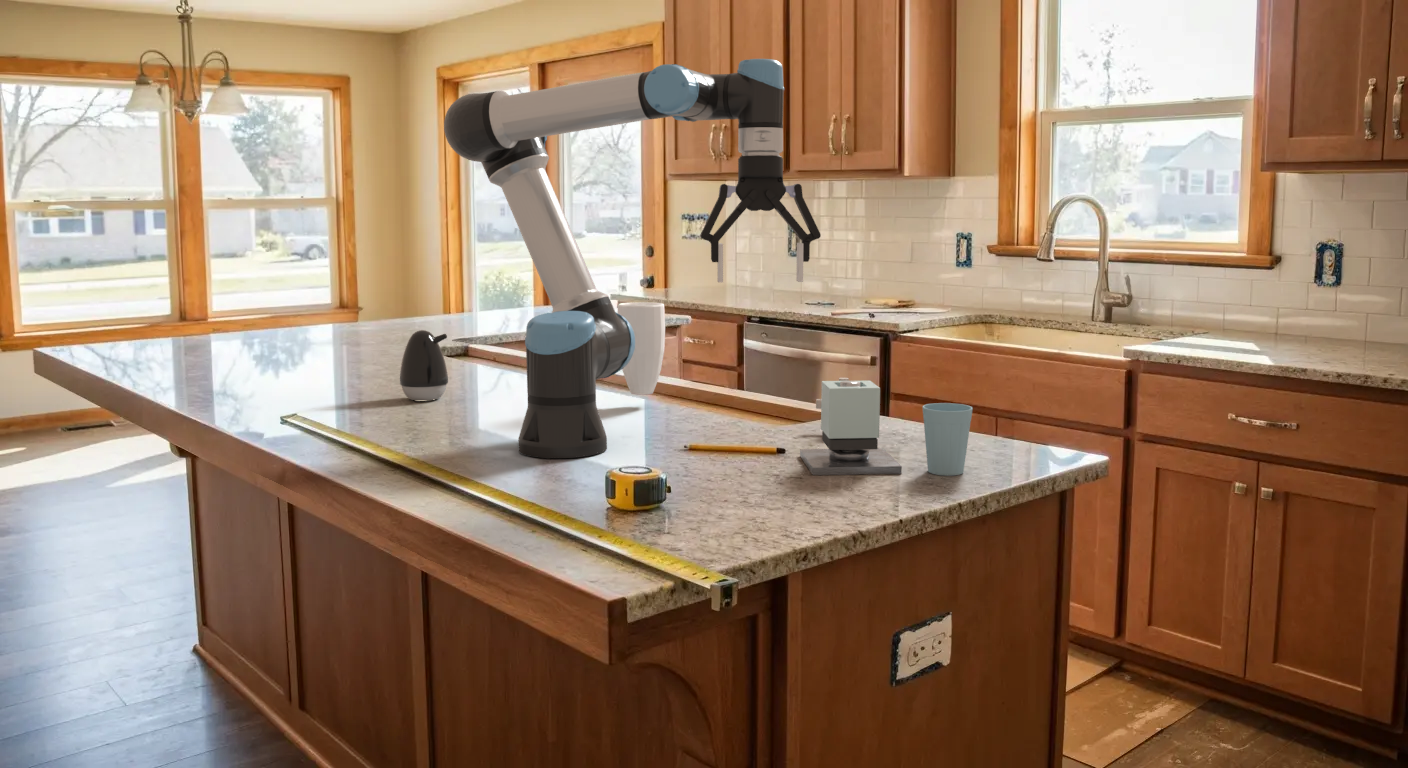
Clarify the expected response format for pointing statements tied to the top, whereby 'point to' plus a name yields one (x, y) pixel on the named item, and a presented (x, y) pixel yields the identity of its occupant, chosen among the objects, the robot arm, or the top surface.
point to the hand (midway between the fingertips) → (760, 281)
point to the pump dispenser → (423, 367)
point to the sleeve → (850, 410)
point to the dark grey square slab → (850, 443)
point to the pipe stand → (849, 458)
